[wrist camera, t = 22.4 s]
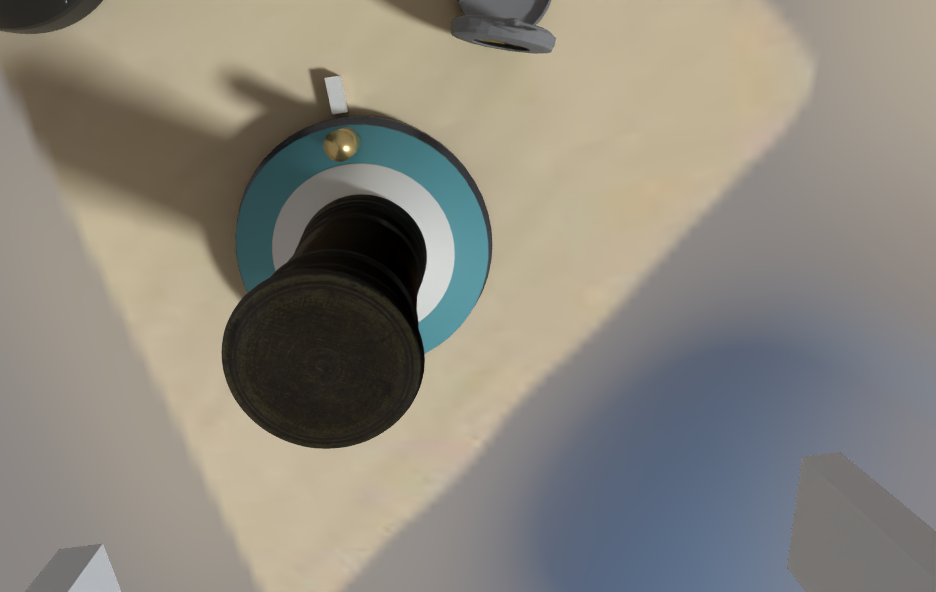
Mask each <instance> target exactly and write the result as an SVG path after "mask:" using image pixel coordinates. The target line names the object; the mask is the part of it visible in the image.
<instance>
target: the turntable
mask: <svg viewBox="0 0 936 592" xmlns="http://www.w3.org/2000/svg"><path fill="white" fill-rule="evenodd" d="M358 194H365V195H374V196H378V197H382V198H385V199H387V200H390V201H392V202H394V203H395V204H397V205H398V206H400V207H401V208H403V209H404V210H405V211H406V212H407V213H408V214H409V215H410V216H411V217H412V218H413V219H414V221H415V222H416V223H417V225H418V227H419V228H420V230H421V232H422V235H423V237H424V240H425V244H426V250H427V264H426V270H425V274H424V277H423V281H422V284H421V286H420V288H419V292H418V295H417V315H418V323H419V328H418V329H419V331H420V334H421V338H422V341H423V347H424V354H425V353H427V352H428V351H430V350H432V349H433V348H435V347H437V346H438V345H440V344H441V343H442V342H444V341H445V340H446V339H447V338H449V337H450V336H451V335H452V334H453V333H454V332H455V331H456V330H457V329H458V328H459V327H460V326H461V325H462V323H463V322H464V321H465V319H466V318H467V317H468V315H469V314H470V312H471V311H472V309H473V307H474V305H475V304H476V302H477V300H478V297H479V295H480V293H481V290H482V288H483V284H484V280H485V277H486V272H487V265H488V237H487V230H486V225H485V221H484V218H483V214H482V211H481V209H480V206H479V204H478V202H477V199H476V197H475V195H474V193H473V192H472V190H471V188H470V187H469V185H468V183H467V182H466V180H465V179H464V177H463V176H462V175H461V174H460V172H459V171H458V170H457V168H456V167H455V166H454V165H453V164H452V163H451V162H450V161H449V160H448V159H447V158H446V157H445V156H444V155H442V154H441V153H440V152H438V151H437V150H436V149H434V148H433V147H432V146H430V145H429V144H427V143H425V142H423V141H422V140H420V139H418V138H416V137H414V136H412V135H409V134H407V133H404V132H402V131H399V130H395V129H391V128H387V127H383V126H376V125H367V124H357V125H343V126H337V127H331V128H328V129H324V130H321V131H318V132H314V133H311V134H309V135H307V136H305V137H303V138H301V139H298V140H296V141H295V142H293V143H292V144H290V145H288V146H287V147H285V148H284V149H282V150H281V151H280V152H279V153H277V154H276V155H275V156H274V157H273V158H272V159H271V160H270V161H268V163H267V164H266V165H265V166H264V167H263V168H262V170H261V171H260V172H259V173H258V174H257V176H256V178H255V179H254V181H253V182H252V184H251V186H250V187H249V189H248V191H247V194H246V196H245V198H244V201H243V203H242V206H241V210H240V214H239V217H238V223H237V231H236V253H237V259H238V266H239V270H240V273H241V277H242V280H243V283H244V285H245V288H246V290H247V292H249V291H251V290H252V289H253V288H254V287H256V286H257V285H258V284H260V283H261V282H263V281H265V280H266V279H268V278H270V277H271V276H272V274H273V273H274V272H275V271H276V270H277V269H279V268H280V267H281V266H282V265H284V264H285V263H287V262H288V260H289V259H290V258H291V257H292V256H293V255H294V252H295V250H296V248H297V246H298V244H299V241H300V239H301V237H302V235H303V232H304V230H305V228H306V226H307V224H308V223H309V221H310V220H311V219H312V217H313V216H314V215H315V214H316V213H317V212H318V211H319V210H320V209H321V208H322V207H324V206H325V205H327V204H328V203H330V202H332V201H334V200H336V199H339V198H342V197H345V196H349V195H358Z"/></svg>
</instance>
